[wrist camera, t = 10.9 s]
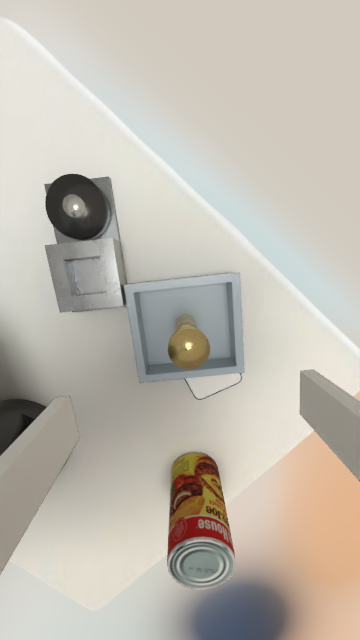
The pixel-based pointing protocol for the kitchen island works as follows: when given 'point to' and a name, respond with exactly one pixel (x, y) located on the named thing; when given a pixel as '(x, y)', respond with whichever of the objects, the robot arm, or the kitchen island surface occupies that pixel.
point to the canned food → (198, 525)
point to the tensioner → (85, 244)
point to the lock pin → (188, 344)
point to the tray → (204, 306)
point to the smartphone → (211, 384)
